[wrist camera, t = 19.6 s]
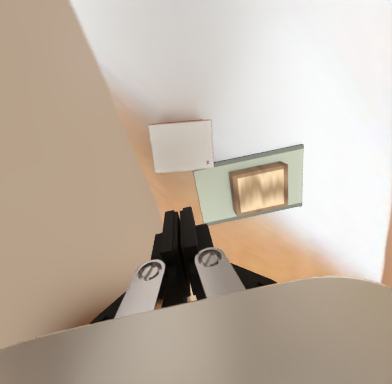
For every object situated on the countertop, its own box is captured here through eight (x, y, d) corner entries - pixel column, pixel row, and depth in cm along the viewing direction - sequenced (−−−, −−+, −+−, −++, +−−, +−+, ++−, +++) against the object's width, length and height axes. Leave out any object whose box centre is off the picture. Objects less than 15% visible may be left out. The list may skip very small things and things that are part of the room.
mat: (192, 167, 38) (192, 167, 38) (301, 144, 39) (303, 144, 38) (204, 225, 43) (204, 226, 43) (300, 204, 44) (302, 205, 43)
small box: (201, 119, 35) (213, 118, 23) (203, 152, 37) (215, 169, 25) (157, 122, 35) (146, 124, 23) (162, 156, 37) (154, 174, 25)
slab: (232, 176, 36) (288, 164, 36) (228, 172, 39) (280, 161, 39) (237, 216, 39) (288, 205, 39) (233, 210, 42) (280, 199, 42)
